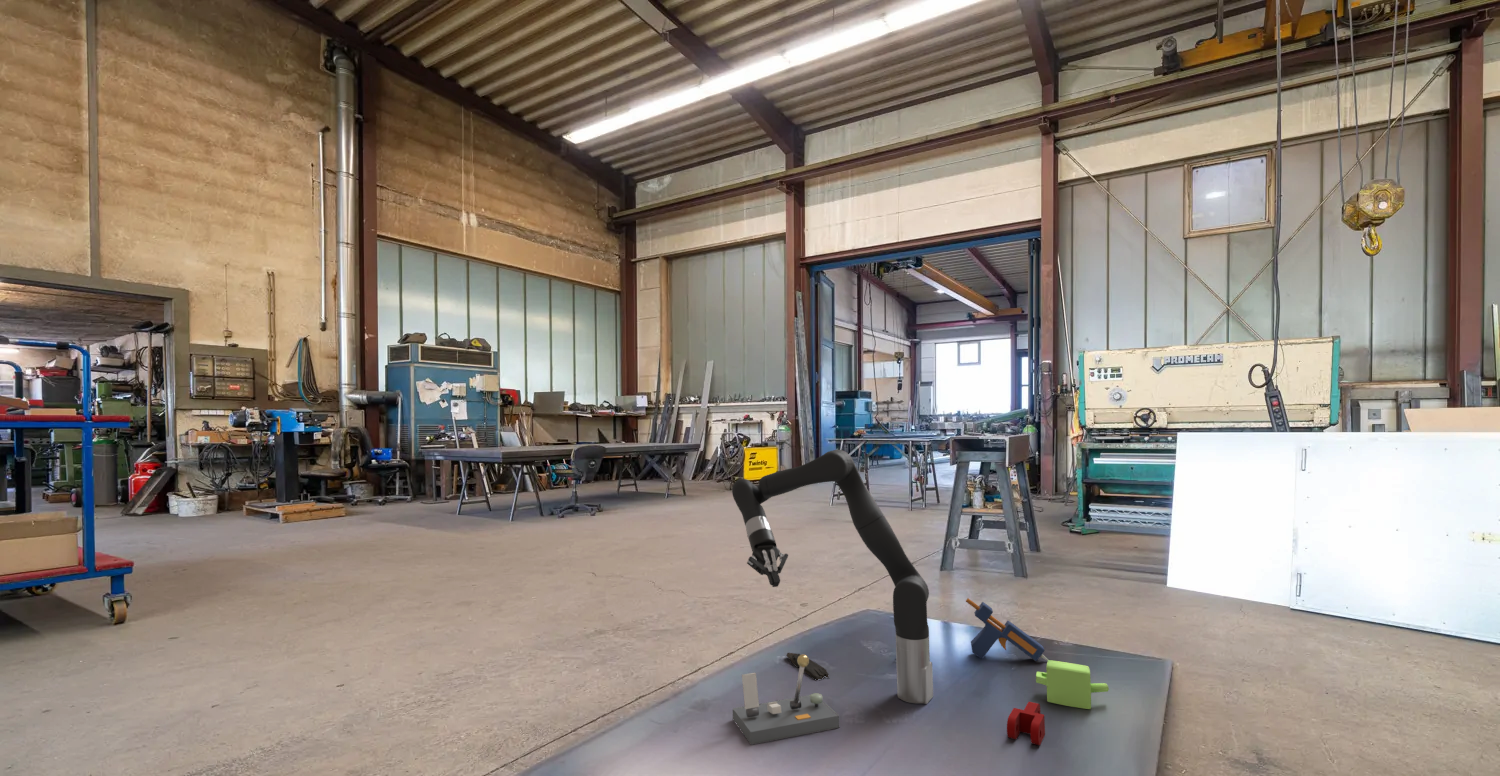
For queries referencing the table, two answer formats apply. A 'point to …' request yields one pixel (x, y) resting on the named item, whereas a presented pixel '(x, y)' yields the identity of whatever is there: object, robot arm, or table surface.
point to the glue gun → (1001, 635)
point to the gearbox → (1069, 684)
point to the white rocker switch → (774, 707)
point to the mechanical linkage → (1027, 723)
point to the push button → (816, 699)
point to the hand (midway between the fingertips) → (776, 585)
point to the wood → (809, 667)
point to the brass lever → (799, 681)
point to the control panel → (785, 720)
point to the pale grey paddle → (750, 694)
